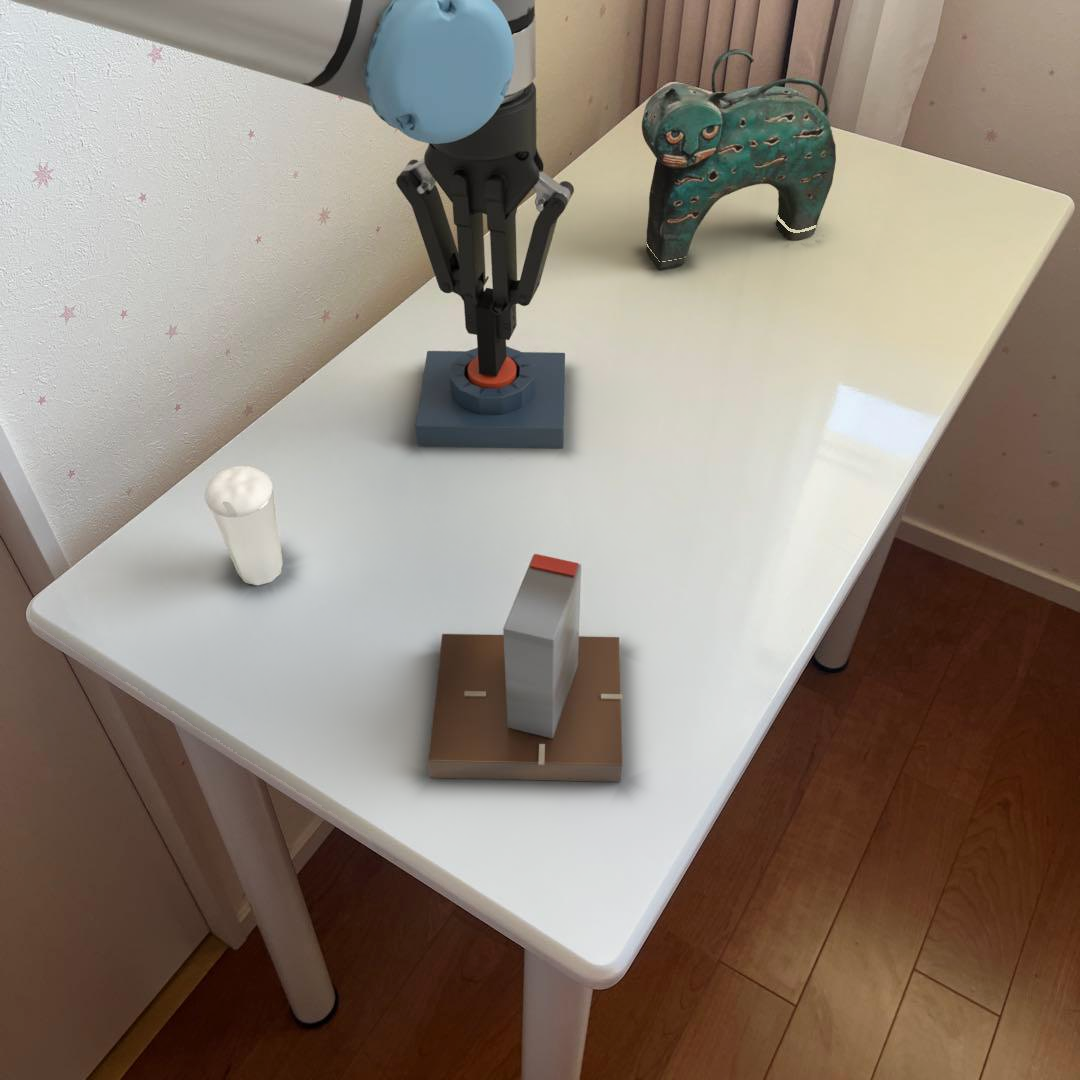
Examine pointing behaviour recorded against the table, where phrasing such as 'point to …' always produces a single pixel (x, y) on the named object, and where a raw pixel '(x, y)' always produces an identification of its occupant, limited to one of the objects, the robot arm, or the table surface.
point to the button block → (492, 403)
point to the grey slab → (542, 645)
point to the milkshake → (247, 521)
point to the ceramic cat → (734, 156)
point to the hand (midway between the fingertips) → (492, 365)
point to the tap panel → (504, 753)
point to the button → (485, 381)
